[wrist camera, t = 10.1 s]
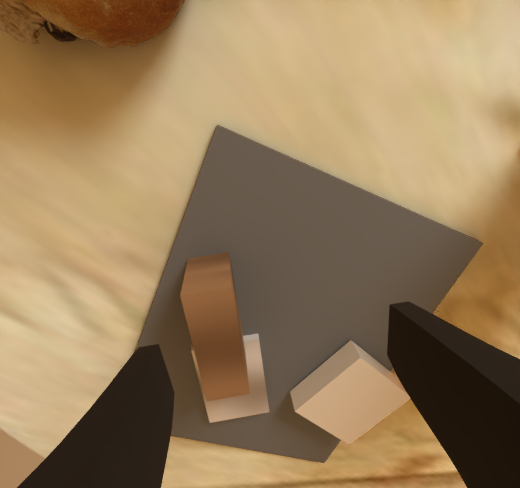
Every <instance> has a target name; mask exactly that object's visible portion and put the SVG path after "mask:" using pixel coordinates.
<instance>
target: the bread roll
mask: <svg viewBox="0 0 520 488" xmlns="http://www.w3.org/2000/svg"><path fill="white" fill-rule="evenodd" d="M183 3H184V0H0V29H1V30H3V31H6V32H8V33H9V34H10V35H12V36H13V37H15V38H16V40H19V41H21V42H30V43H33V44H35V43H39V42H38V41H37V40H36V38H37V37H38V35H39V33H38V31H37V29H40V28H41V27H43V26H45V28H46V30H47V31H48V33H49V34H51V35H52V36H53V37H54V38H55V39H56V40H58V41H61V42H67V41H73V40H75V39H77V38H81V39H83V40H84V39H87V40H91V41H93V42H94V43H96V44H97V45H99V46H100V47H116V46H121V45H131V46H135V45H136V44H137V43H140V42H143V41H145V40H148V39H150V38H151V37H153V36H155V35H157V34H159V33H160V32H161V31H162V30H164V29H166V28H167V27H168V26H169V25H170V24H171V21H172V19H173V18H174V17H175V15H176V14H177V12H178V10H179V8H180V6H181V5H182V4H183Z"/></svg>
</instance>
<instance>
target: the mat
mask: <svg viewBox="0 0 520 488" xmlns="http://www.w3.org/2000/svg"><path fill="white" fill-rule="evenodd" d="M482 244H483V243H482V242H480V241H478V240H475V239H473V238H471V237H469V236H466V235H464V234H462V233H460V232H457V231H455V230H453V229H451V228H448V227H446V226H444V225H442V224H439V223H437V222H435V221H433V220H430V219H428V218H426V217H424V216H421V215H419V214H417V213H415V212H412V211H410V210H408V209H406V208H403V207H401V206H399V205H397V204H394V203H392V202H390V201H388V200H385V199H383V198H381V197H379V196H376V195H374V194H372V193H370V192H367V191H365V190H363V189H361V188H359V187H356V186H354V185H352V184H350V183H347V182H345V181H343V180H341V179H338V178H336V177H334V176H332V175H329V174H327V173H325V172H323V171H320V170H318V169H316V168H314V167H311V166H309V165H307V164H305V163H302V162H300V161H298V160H296V159H293V158H291V157H289V156H287V155H284V154H282V153H280V152H278V151H275V150H273V149H271V148H269V147H266V146H264V145H262V144H260V143H257V142H255V141H253V140H251V139H248V138H246V137H244V136H242V135H239V134H237V133H235V132H233V131H230V130H228V129H226V128H224V127H221V126H219V125H217V126H216V129H215V132H214V135H213V138H212V140H211V143H210V146H209V149H208V151H207V154H206V157H205V160H204V162H203V165H202V168H201V171H200V173H199V176H198V179H197V182H196V184H195V187H194V190H193V193H192V196H191V198H190V201H189V204H188V207H187V209H186V212H185V215H184V218H183V220H182V223H181V226H180V229H179V231H178V234H177V237H176V240H175V242H174V245H173V248H172V251H171V253H170V256H169V259H168V262H167V265H166V267H165V270H164V273H163V276H162V278H161V281H160V284H159V287H158V289H157V292H156V295H155V298H154V300H153V303H152V306H151V309H150V311H149V314H148V317H147V320H146V323H145V325H144V328H143V331H142V334H141V336H140V339H139V342H138V345H137V347H136V350H137V349H138V347H143V346H149V345H155V344H159V346H160V349H161V352H162V355H163V358H164V361H165V365H166V368H167V371H168V374H169V377H170V380H171V383H172V386H173V389H174V392H175V394H174V410H173V423H172V431H171V436H175V437H181V438H186V439H192V440H198V441H203V442H209V443H215V444H220V445H226V446H231V447H237V448H243V449H248V450H254V451H259V452H265V453H271V454H276V455H282V456H287V457H293V458H299V459H304V460H310V461H316V462H321V463H324V462H325V461H326V460H327V458H328V457H329V456H330V454H331V453H332V451H333V450H334V449H335V447H336V446H337V444H338V443H339V442H340V439H339V438H337V437H335V436H334V435H332V434H331V433H329V432H327V431H326V430H324V429H322V428H321V427H319V426H318V425H316V424H314V423H313V422H311V421H309V420H308V419H306V418H305V417H303V416H301V415H300V414H298V413H296V412H295V410H294V406H293V402H292V398H291V394H290V391H291V390H292V389H293V388H294V387H296V386H297V385H298V384H299V383H300V382H302V381H303V380H304V379H305V378H306V377H308V376H309V375H310V374H311V373H312V372H313V371H315V370H316V369H317V368H318V367H319V366H321V365H322V364H323V363H324V362H325V361H327V360H328V359H329V358H330V357H331V356H333V355H334V354H335V353H336V352H337V351H338V350H340V349H341V348H342V347H343V346H344V345H346V344H347V343H348V342H349V341H350V340H352V341H353V342H354V343H355V344H357V345H358V346H359V347H360V348H362V349H363V350H364V351H365V352H367V353H368V354H369V355H370V356H372V357H373V358H374V359H375V360H377V361H378V362H379V363H380V364H382V365H383V366H384V367H385V368H386V369H388V370H389V371H391V370H392V369H393V366H392V364H391V362H390V360H389V358H388V356H387V344H388V324H389V305H390V304H396V303H401V302H407V301H409V302H411V303H413V304H415V305H417V306H419V307H421V308H422V309H424V310H426V311H428V312H430V313H433V312H434V311H435V309H436V308H437V306H438V305H439V304H440V302H441V301H442V299H443V298H444V297H445V295H446V294H447V293H448V291H449V290H450V288H451V287H452V286H453V284H454V283H455V282H456V280H457V279H458V277H459V276H460V275H461V273H462V272H463V270H464V269H465V268H466V266H467V265H468V264H469V262H470V261H471V259H472V258H473V257H474V255H475V254H476V253H477V251H478V250H479V248H480V247H481V246H482ZM226 252H229V254H230V260H231V266H232V272H233V278H234V284H235V290H236V296H237V302H238V308H239V314H240V320H241V326H242V332H243V336H245V335H251V334H257V333H258V336H259V342H260V349H261V356H262V363H263V370H264V377H265V384H266V391H267V398H268V405H269V412H268V413H262V414H257V415H251V416H246V417H240V418H235V419H229V420H223V421H218V422H212V423H210V422H209V418H208V414H207V410H206V406H205V403H204V399H203V395H202V391H201V387H200V383H199V379H198V375H197V372H196V368H195V364H194V360H193V356H192V352H191V348H192V340H191V336H190V332H189V328H188V325H187V321H186V317H185V313H184V309H183V305H182V301H181V297H180V294H181V289H182V285H183V280H184V275H185V270H186V265H187V261H188V258H193V257H199V256H206V255H213V254H219V253H226ZM136 350H135V351H136Z"/></svg>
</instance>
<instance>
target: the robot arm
mask: <svg viewBox="0 0 520 488" xmlns="http://www.w3.org/2000/svg"><path fill="white" fill-rule="evenodd" d="M387 356H388V358H389V360H390V362H391V364H392V366H393V368H394V370H395V372H396V374H397V376H398V378H399V380H400V382H401V384H402V386H403V387H404V389H405V391H406V392H407V394H408V395H409V397H410V398H411V400H412V401H413V403H414V404H415V406H416V407H417V409H418V411H419V412H420V414H421V415H422V417H423V418H424V420H425V421H426V423H427V424H428V426H429V427H430V429H431V430H432V432H433V433H434V435H435V436H436V438H437V439H438V441H439V442H440V444H441V445H442V447H443V448H444V450H445V451H446V453H447V454H448V456H449V457H450V459H451V461H452V462H453V464H454V466H455V467H456V469H457V470H458V472H459V474H460V475H461V477H462V479H463V481H464V483H465V484H466V486H467V488H520V359H518V358H516V357H514V356H512V355H510V354H508V353H505V352H503V351H501V350H499V349H497V348H495V347H493V346H491V345H489V344H487V343H485V342H483V341H482V340H480V339H478V338H476V337H474V336H472V335H470V334H468V333H466V332H464V331H463V330H461V329H459V328H457V327H455V326H453V325H452V324H450V323H448V322H446V321H444V320H443V319H441V318H439V317H437V316H435V315H433V314H432V313H430V312H428V311H426V310H424V309H422V308H421V307H419V306H417V305H415V304H413V303H411V302H409V301H407V302H401V303H396V304H390V305H389V324H388V344H387ZM174 394H175V392H174V389H173V386H172V383H171V380H170V377H169V374H168V371H167V368H166V365H165V361H164V358H163V355H162V352H161V349H160V346H159V344H155V345H149V346H143V347H138V349H137V350H136V351H135V352H134V354H133V355H132V356H131V357H130V359H129V360H128V361H127V363H126V364H125V365H124V366H123V368H122V369H121V370H120V372H119V373H118V374H117V375H116V377H115V378H114V379H113V381H112V382H111V383H110V384H109V386H108V387H107V388H106V389H105V391H104V392H103V393H102V394H101V396H100V397H99V398H98V399H97V401H96V402H95V403H94V404H93V406H92V407H91V408H90V409H89V410H88V412H87V413H86V414H85V415H84V416H83V417H82V418H81V420H80V421H79V422H78V423H77V424H76V425H75V427H74V428H73V429H72V430H71V431H70V432H69V433H68V435H67V436H66V437H65V438H64V439H63V440H62V442H61V443H60V444H59V445H58V446H57V447H56V448H55V449H54V450H53V451H52V452H51V453H50V455H49V456H48V457H47V458H46V459H45V460H44V461H43V462H42V463H41V464H40V465H39V466H38V467H37V468H36V469H35V470H34V471H33V472H32V473H31V474H30V475H29V476H28V477H27V478H26V479H25V480H24V481H23V482H22V483H21V484H20V485H19V486H18V487H17V488H161V484H162V479H163V474H164V468H165V463H166V458H167V453H168V447H169V442H170V436H171V431H172V423H173V410H174Z"/></svg>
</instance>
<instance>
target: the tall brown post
mask: <svg viewBox="0 0 520 488" xmlns="http://www.w3.org/2000/svg"><path fill="white" fill-rule="evenodd" d="M180 297H181V301H182V305H183V309H184V313H185V317H186V321H187V325H188V328H189V332H190V336H191V340H192V348H191V352H192V356H193V360H194V364H195V368H196V372H197V375H198V379H199V383H200V387H201V391H202V395H203V399H204V403H205V406H206V410H207V414H208V418H209V422H210V423H212V422H218V421H223V420H229V419H235V418H240V417H246V416H251V415H257V414H262V413H268V412H269V405H268V398H267V391H266V384H265V377H264V370H263V363H262V356H261V349H260V342H259V336H258V333H257V334H251V335H245V336H243V332H242V326H241V320H240V314H239V308H238V302H237V296H236V290H235V284H234V278H233V272H232V266H231V260H230V254H229V252H226V253H219V254H213V255H206V256H199V257H193V258H188V261H187V265H186V270H185V275H184V280H183V285H182V289H181V294H180Z"/></svg>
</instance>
